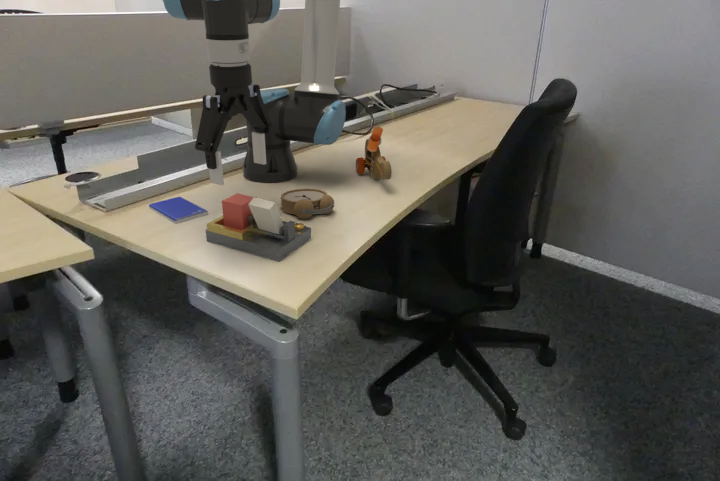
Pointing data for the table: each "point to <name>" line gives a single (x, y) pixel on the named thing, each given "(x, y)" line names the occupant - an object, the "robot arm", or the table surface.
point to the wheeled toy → (374, 158)
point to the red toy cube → (236, 211)
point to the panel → (259, 238)
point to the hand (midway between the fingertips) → (239, 173)
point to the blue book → (178, 210)
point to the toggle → (267, 216)
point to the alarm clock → (306, 202)
